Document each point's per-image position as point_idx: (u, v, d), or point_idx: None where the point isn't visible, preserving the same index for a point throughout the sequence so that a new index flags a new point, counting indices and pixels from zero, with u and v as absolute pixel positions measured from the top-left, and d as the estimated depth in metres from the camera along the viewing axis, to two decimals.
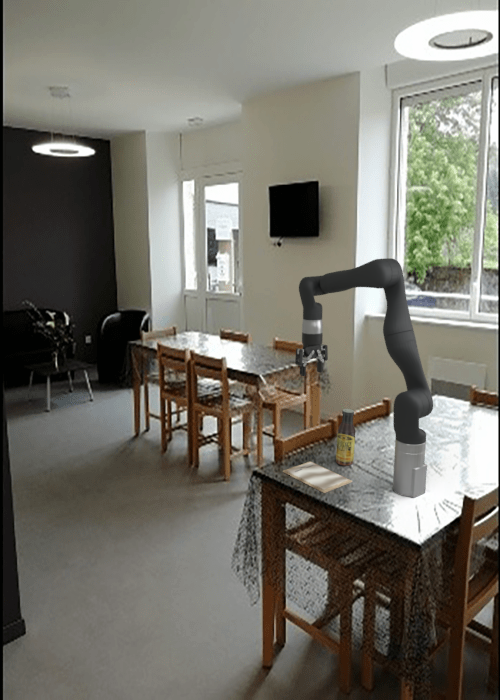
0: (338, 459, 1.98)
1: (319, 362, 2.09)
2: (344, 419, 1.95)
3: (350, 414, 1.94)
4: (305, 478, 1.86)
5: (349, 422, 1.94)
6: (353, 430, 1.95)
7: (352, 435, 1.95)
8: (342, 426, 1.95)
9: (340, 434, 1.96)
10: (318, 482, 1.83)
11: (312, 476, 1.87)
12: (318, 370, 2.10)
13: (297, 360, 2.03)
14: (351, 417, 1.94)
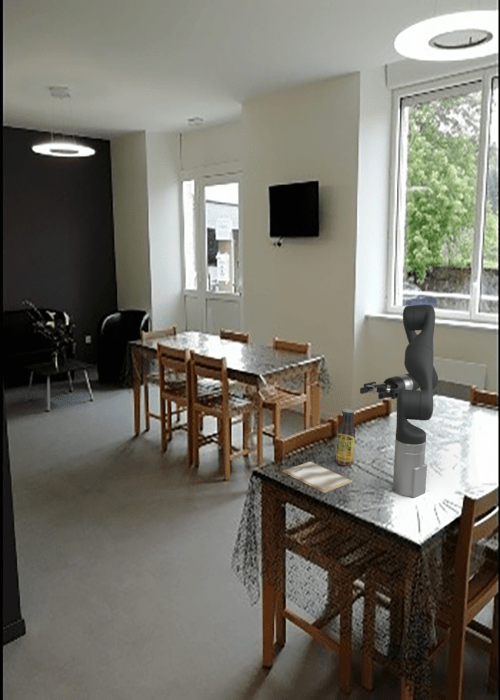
0: (338, 459, 1.98)
1: None
2: (344, 419, 1.95)
3: (350, 414, 1.94)
4: (305, 478, 1.86)
5: (349, 422, 1.94)
6: (353, 430, 1.95)
7: (352, 435, 1.95)
8: (342, 426, 1.95)
9: (340, 434, 1.96)
10: (318, 482, 1.83)
11: (312, 476, 1.87)
12: None
13: None
14: (351, 417, 1.94)
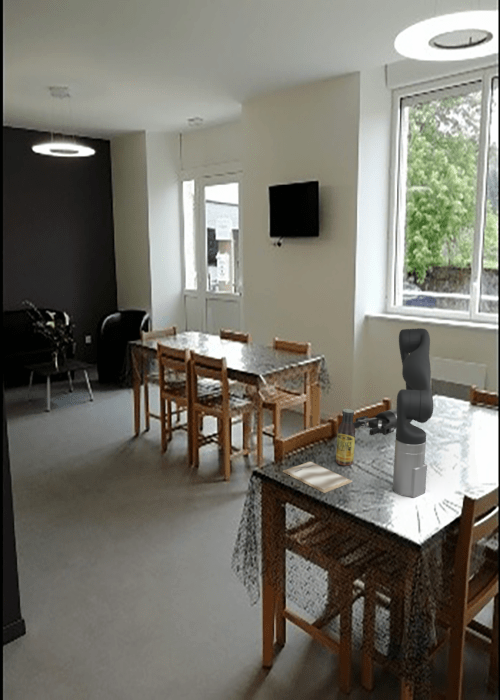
0: (338, 459, 1.98)
1: None
2: (344, 419, 1.95)
3: (350, 414, 1.94)
4: (305, 478, 1.86)
5: (349, 422, 1.94)
6: (353, 430, 1.95)
7: (352, 435, 1.95)
8: (342, 426, 1.95)
9: (340, 434, 1.96)
10: (318, 482, 1.83)
11: (312, 476, 1.87)
12: None
13: None
14: (351, 417, 1.94)
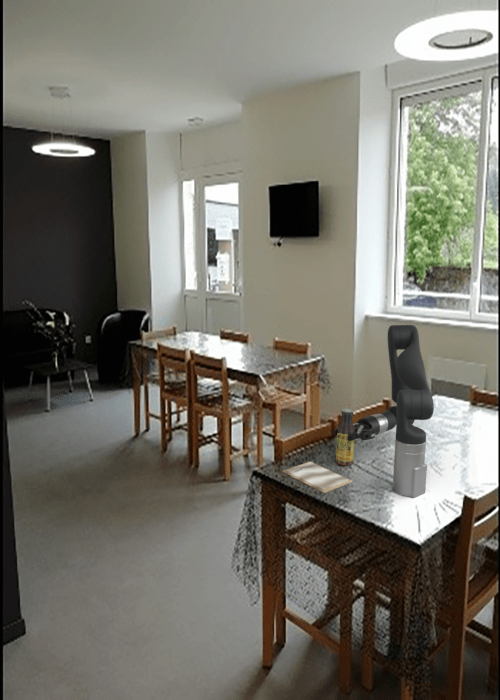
0: (338, 459, 1.98)
1: None
2: (343, 419, 1.95)
3: (349, 414, 1.94)
4: (305, 478, 1.86)
5: (348, 422, 1.95)
6: (352, 430, 1.95)
7: None
8: (341, 426, 1.95)
9: (340, 434, 1.96)
10: (318, 482, 1.83)
11: (312, 476, 1.87)
12: None
13: None
14: (350, 417, 1.95)
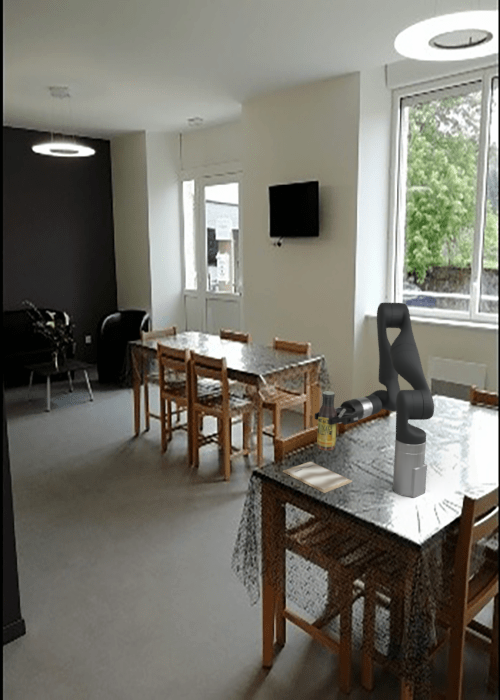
0: (319, 444, 1.89)
1: None
2: (324, 402, 1.86)
3: (330, 396, 1.84)
4: (305, 478, 1.86)
5: (329, 405, 1.85)
6: (334, 413, 1.86)
7: None
8: (322, 409, 1.86)
9: (320, 417, 1.86)
10: (318, 482, 1.83)
11: (312, 476, 1.87)
12: None
13: None
14: (331, 399, 1.85)
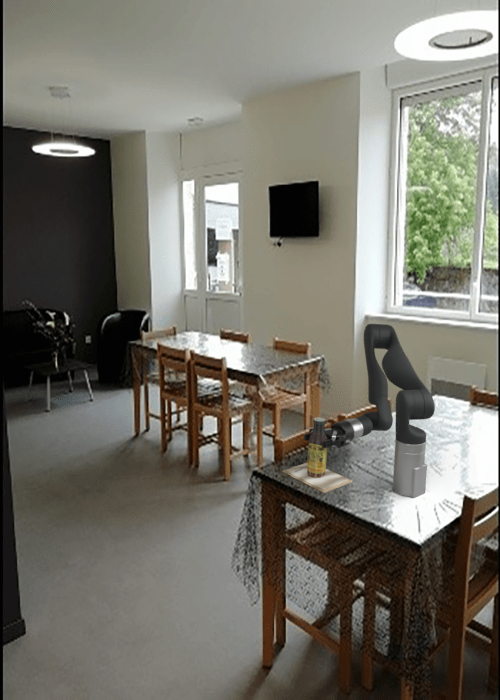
0: (309, 470, 1.87)
1: None
2: (315, 428, 1.84)
3: (321, 423, 1.83)
4: (305, 478, 1.86)
5: (320, 432, 1.84)
6: (325, 440, 1.84)
7: None
8: (313, 436, 1.84)
9: (311, 444, 1.85)
10: (318, 482, 1.83)
11: None
12: None
13: None
14: (322, 426, 1.84)
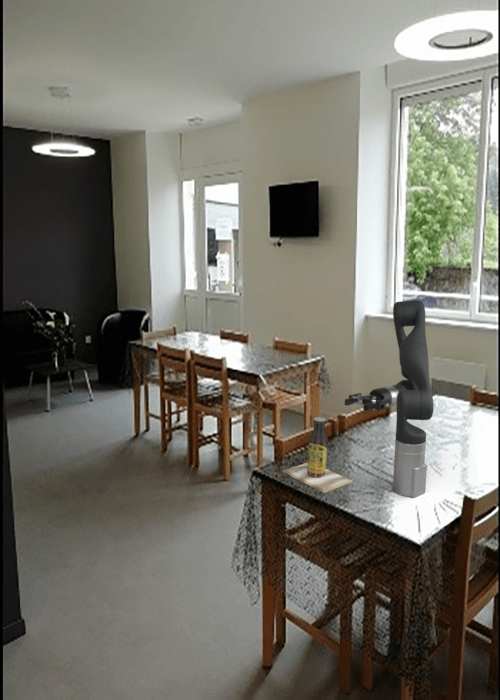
0: (309, 470, 1.87)
1: None
2: (315, 428, 1.84)
3: (322, 423, 1.83)
4: (305, 478, 1.86)
5: (320, 432, 1.84)
6: (325, 440, 1.84)
7: (323, 445, 1.84)
8: (313, 436, 1.84)
9: (311, 444, 1.85)
10: (318, 482, 1.83)
11: None
12: None
13: None
14: (323, 426, 1.83)
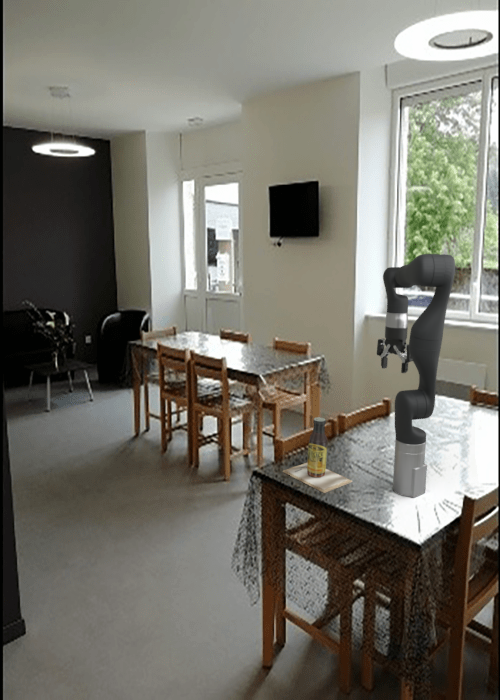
0: (309, 470, 1.87)
1: None
2: (315, 428, 1.84)
3: (321, 423, 1.83)
4: (305, 478, 1.86)
5: (320, 432, 1.84)
6: (325, 440, 1.84)
7: (323, 445, 1.84)
8: (313, 436, 1.85)
9: (311, 444, 1.85)
10: (318, 482, 1.83)
11: None
12: None
13: (381, 350, 2.01)
14: (322, 426, 1.84)
